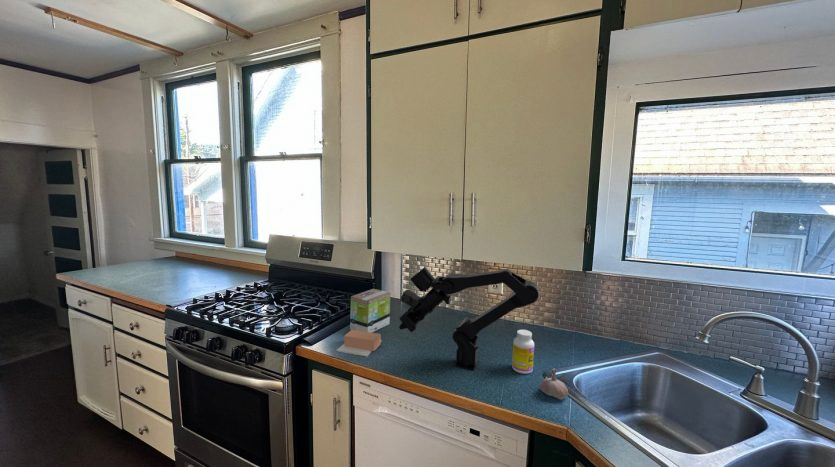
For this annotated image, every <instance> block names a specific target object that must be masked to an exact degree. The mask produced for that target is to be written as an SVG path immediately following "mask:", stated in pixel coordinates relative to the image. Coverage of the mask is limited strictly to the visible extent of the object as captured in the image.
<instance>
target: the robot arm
mask: <svg viewBox="0 0 835 467" xmlns="http://www.w3.org/2000/svg"><path fill="white" fill-rule="evenodd" d="M409 280H410V282H411V283H412V284H413V285H414V287H416V288H417V289H418V290H419V292H420V293H421V292H422V293H423V292H424V293H425V294H424V295H421V296H419V295H418V294H417V293H415V292H414V291H411V290H410V289H406V290H404V291H403V293H402V294H401V295H400V299H399V301H400V302H401V303H404V304H405V305H408V306H410V307H409V308H408V309H407V310H406V311H405V312H404V313H403V314H402V315H401V316H400V317H399V321H400V322H401V323H400V325H399V327H398V328H399V329H400V330H405V329H407V330H408V331H409V332H410V333H412V332H414V331H416V329H417V328H418V327H419V326H420V322H421V321H423V320H424V319H425V318H426V317H427V316H428V315H429V314H431V313H432V312H433V311H434V310H435V309H436V308H437V307H439V305H441V304H442V303H443V302H445V304H446V305H450V303H451V301H452V299H451V298H452V295H453V294H456V293H460V292H462V291H464V290H466V289H470V288H476V287H485V286H491V285H493V286H494V285H498V284H499V285H500V284H503V285H506V286H507V287H508V289H510V290H511V291H512V292H511V293H510V294H509V295H508V296H507V297H505V298H504V299H502V300H501V301H499V302H498V303H496V304H494V305H493V306H492V307H490V308H489V309H487V310H485V311H484V312H482V313H481V314H479V315H478V316H476V317H474V318H470V317H469V316H468V315H467V316H466V317H465V318H464V319H462V320H459V321H458V322H457V325H456V326H455V329H454V331H453V332H452V333H453V334H452V340H453V341H454V342H455V344H456V345H457V348H456V351H455V352H456V354H455V360H456V362H455V363H454V365H455V366H456V367H459V368H463V369H465V370H466V369H467V370H471V371H474V370H475V369H476V367H478V366H479V364H480V360H479V346H477V345H478V341H479V336H478V334H479V333H480V331H482V330H484V329H486V328H487V327H488V326H490V325H492V324H493V323H495V322H496V321H498V320H500V319H501V318H502V317H504V316H506V315H507V314H509V313H510V312H513V311H514V310H515V309H518V308H524V307H526V306H529V305H532V304H534V303H535V302H537V301H538V299H539V288H538V286H537V284H536V283H535V282H534V281H532V280H528V279H525V278H523V276H520V275H518V274H516V273H514V272H513V271H511V270H510V269H509V268H503V269H499V270H494V271H492V270H491V271H486V272H479V273H472V274H464V273H448V274H446V275H444V276H436V277H434V276H433V275H432V274H431V272H429V270H428V269H427V267H426V266H424V267H422V268H421V270H419V271H418V272H417V273H415V274H414V275H413V276H412V277H411V278H410V279H409ZM430 288H431V289H430ZM428 290H429V291H428ZM427 291H428V292H427Z"/></svg>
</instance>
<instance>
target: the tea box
mask: <svg viewBox="0 0 835 467" xmlns="http://www.w3.org/2000/svg"><path fill="white" fill-rule="evenodd" d="M349 311H350V313H349V314H350V315H349V316H350V317H349V319H350V322H349V324H350V325H349V326H350V327H349V329H350V330H349V331H351V330H358V331H364V332H371V333H375V332H376V331H378V330H380V329H382V328H384V327H386V326H389V325H390V321H391V317H390V316H391V315H390V314H391V292H390V291H386V290H381V289H377V288H376V289H375V288H371V289H369V290H365V291H363V292H359V293H357V294H354V295H351V296H350V310H349Z"/></svg>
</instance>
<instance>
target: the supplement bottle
mask: <svg viewBox="0 0 835 467" xmlns="http://www.w3.org/2000/svg"><path fill="white" fill-rule="evenodd" d="M532 338H533V333H532V332H531V331H530V330H527V329H518V330H517V332H516V337H515V338H514V339H513V344H512V359H511V366H512V370H513V371H515V372H516V373H519V374H525V375H527V374H531V373H532V372H533V368H534V357H535V342H534V341H533V339H532Z"/></svg>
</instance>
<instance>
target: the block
mask: <svg viewBox="0 0 835 467" xmlns="http://www.w3.org/2000/svg"><path fill="white" fill-rule="evenodd" d="M381 334H382V333H376V332H372V333H371V332H364V331H358V330H349V332H347V333H345V335H344V337H343V340H344V341H343V342H344V343H343V344H344V346H346V347H352V348H358V349H364V350H370V351H372V352H375V351H376V350H377V348H378V347H380V345H381V342H382V341H381V340H382V338H381Z"/></svg>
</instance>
